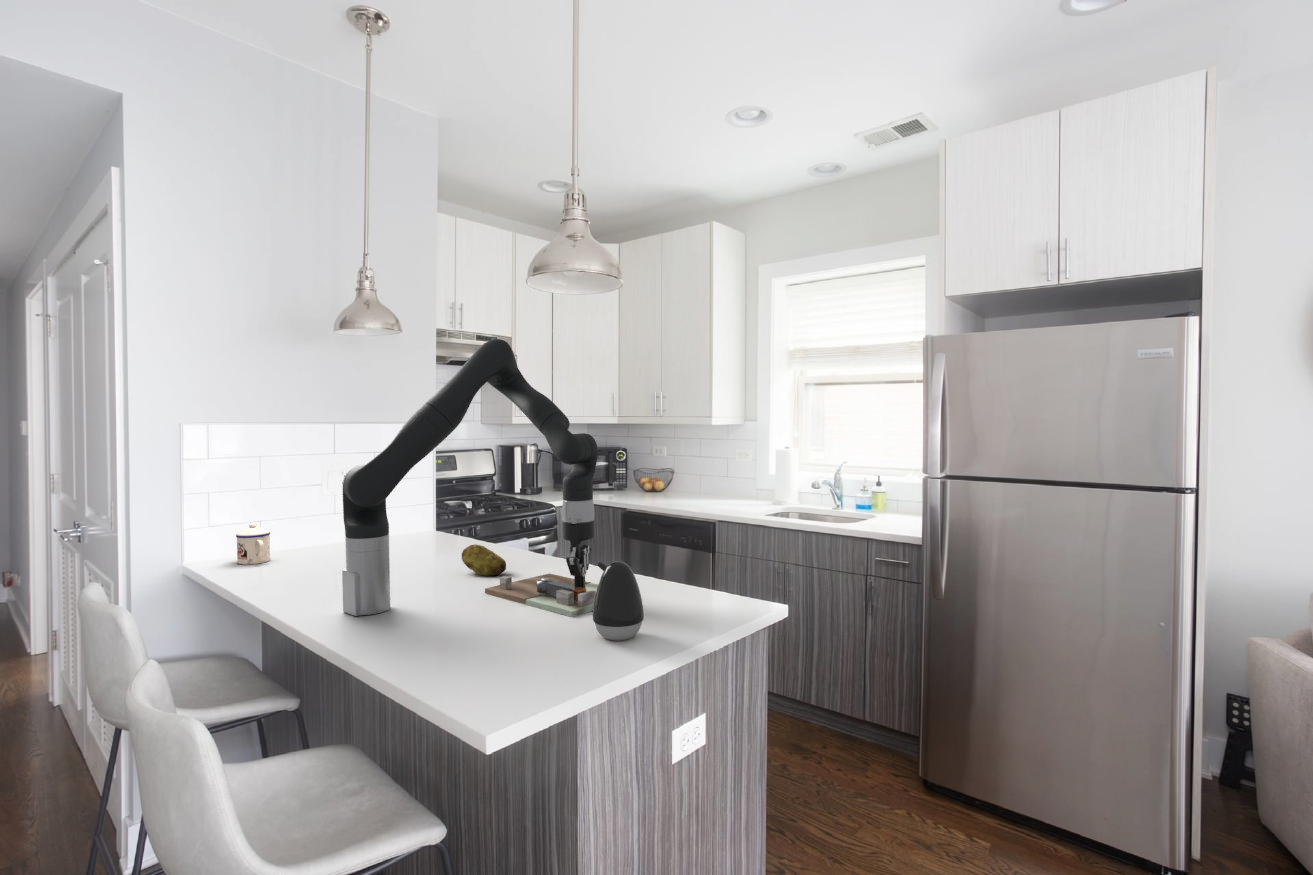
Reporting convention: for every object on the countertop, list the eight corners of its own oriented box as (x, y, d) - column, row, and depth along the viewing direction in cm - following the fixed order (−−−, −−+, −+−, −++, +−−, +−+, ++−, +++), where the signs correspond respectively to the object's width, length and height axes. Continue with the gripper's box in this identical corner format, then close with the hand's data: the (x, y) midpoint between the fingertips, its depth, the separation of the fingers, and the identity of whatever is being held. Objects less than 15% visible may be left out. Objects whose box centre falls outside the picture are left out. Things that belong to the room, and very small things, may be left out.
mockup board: (571, 617, 152) (571, 599, 151) (484, 593, 172) (484, 577, 172) (636, 597, 168) (635, 581, 167) (549, 577, 188) (549, 563, 188)
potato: (485, 580, 186) (485, 550, 186) (456, 573, 194) (456, 545, 194) (510, 574, 193) (509, 546, 192) (481, 568, 201) (480, 541, 200)
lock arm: (546, 588, 169) (546, 576, 169) (588, 598, 159) (588, 586, 159) (533, 591, 166) (533, 579, 166) (575, 602, 156) (575, 589, 156)
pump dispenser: (616, 625, 146) (615, 553, 145) (654, 635, 139) (653, 560, 138) (581, 637, 138) (580, 562, 137) (620, 648, 131) (619, 569, 131)
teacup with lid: (232, 562, 211) (231, 524, 211) (264, 557, 218) (263, 520, 217) (245, 567, 203) (244, 528, 203) (278, 562, 210) (278, 524, 209)
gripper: (571, 513, 169) (573, 583, 170) (553, 523, 156) (555, 598, 157) (601, 514, 168) (602, 584, 169) (585, 523, 155) (587, 599, 156)
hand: (580, 591), depth 163 cm, fingers closed
